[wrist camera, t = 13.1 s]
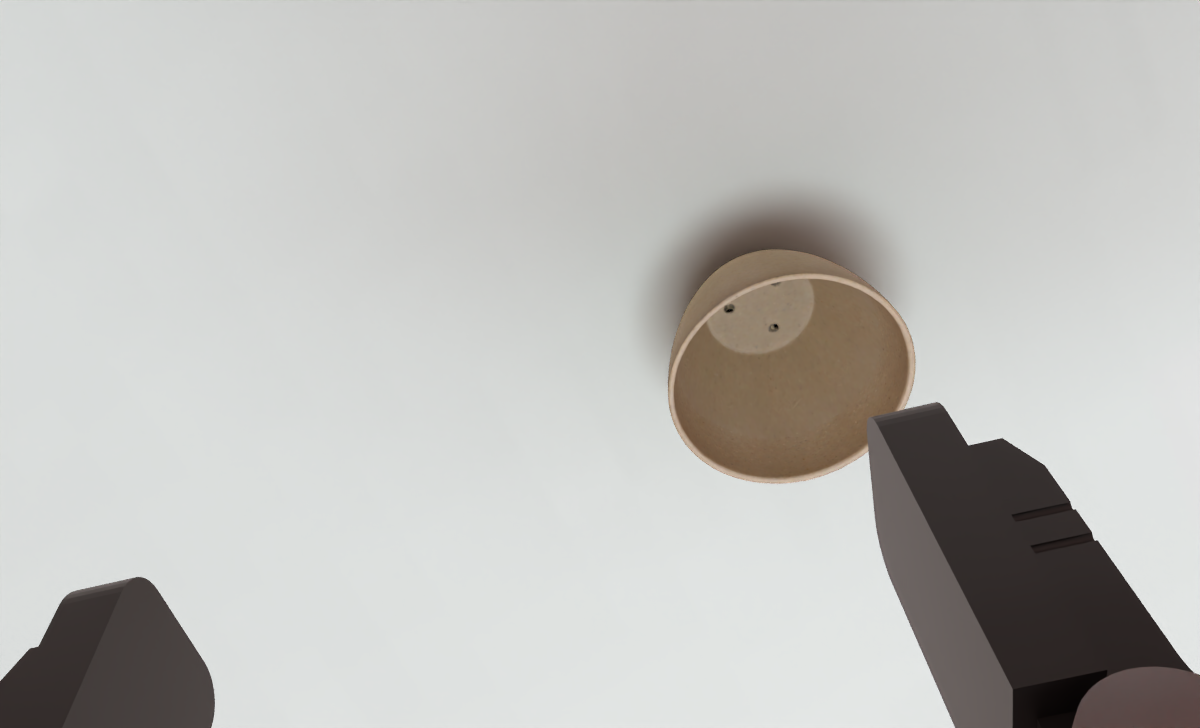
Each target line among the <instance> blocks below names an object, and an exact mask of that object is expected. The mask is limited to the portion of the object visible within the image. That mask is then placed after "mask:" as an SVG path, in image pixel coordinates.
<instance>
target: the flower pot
mask: <svg viewBox="0 0 1200 728" xmlns="http://www.w3.org/2000/svg"><path fill="white" fill-rule="evenodd" d="M728 309H733V311H731V312H726V311H727V310H728ZM774 324H777V325H778V327H774ZM914 375H915V352H914V346H913V342H912V338H911V335H910V333H909V331H908V328H907V326H906V324H905V322H904V321H903V319H902V318H901V316H900V315H899V313H898V312H897V311H896V310H895V309H894V307H893V306H892V305H891V304H890V303H889V302H888V301H887V300H886V299H885V298H884V297H883V296H882V295H881V294H880V293H879V292H878V291H877V290H875V289H874V288H873V287H872V286H871V285H869V284H868V283H867V282H865V281H864V280H863V279H861V278H860V277H858V276H857V275H855V274H854V273H852V272H851V271H849V270H847V269H845V268H844V267H842V266H840V265H838V264H836V263H833V262H831V261H829V260H826V259H824V258H821V257H818V256H815V255H812V254H808V253H804V252H799V251H792V250H780V249H769V250H760V251H755V252H751V253H748V254H744V255H742V256H739V257H737V258H735V259H733V260H731V261H729V262H727V263H726V264H724V265H723V266H721V267H720V268H719V269H717V270H716V271H715V272H714V273H713V274H712V275H711V276H710V277H709V278H708V279H707V280H706V281H705V282H704V283H703V284H702V286H701V287H700V288H699V290H698V291H697V292H696V294H695V295H694V296H693V298H692V300H691V301H690V303H689V305H688V307H687V308H686V310H685V312H684V315H683V317H682V319H681V321H680V324H679V327H678V329H677V332H676V335H675V339H674V343H673V347H672V352H671V358H670V364H669V376H668V397H669V408H670V412H671V416H672V419H673V422H674V425H675V427H676V429H677V431H678V433H679V435H680V436H681V438H682V440H683V441H684V443H685V444H686V445H687V446H688V448H689V449H690V450H691V451H692V452H693V453H694V454H695V455H696V456H697V457H698V458H700V459H701V460H702V461H703V462H705V463H706V464H708V465H709V466H711V467H712V468H714V469H716V470H718V471H720V472H722V473H724V474H727V475H730V476H732V477H735V478H739V479H743V480H747V481H752V482H759V483H792V482H799V481H806V480H810V479H813V478H817V477H820V476H823V475H826V474H829V473H831V472H834V471H836V470H839V469H841V468H843V467H844V466H846V465H848V464H850V463H851V462H853V461H855V460H857V459H858V458H860V457H861V456H863V455H864V454H865V453H867V452H868V451H869V450H868V440H867V420H868V418H869V417H872V416H877V415H881V414H886V413H890V412H895V411H899V410H904V408H905V406H906V404H907V401H908V399H909V396H910V393H911V390H912V386H913V382H914Z"/></svg>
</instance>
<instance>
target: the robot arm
mask: <svg viewBox="0 0 1200 728" xmlns="http://www.w3.org/2000/svg"><path fill="white" fill-rule="evenodd" d="M867 440H868V450H869V460H870V470H871V481H872V491H873V501H874V511H875V521H876V528H877V534H878V539H879V543H880V548H881V551H882V555H883V559H884V562H885V565H886V568H887V571H888V574H889V577H890V579H891V581H892V584H893V586H894V588H895V591H896V593H897V595H898V598H899V600H900V602H901V604H902V607H903V609H904V611H905V614H906V616H907V618H908V620H909V623H910V625H911V627H912V630H913V632H914V634H915V637H916V639H917V641H918V643H919V646H920V648H921V650H922V653H923V655H924V657H925V659H926V662H927V664H928V666H929V669H930V671H931V673H932V675H933V678H934V680H935V682H936V685H937V687H938V689H939V691H940V694H941V696H942V698H943V701H944V703H945V705H946V707H947V710H948V712H949V714H950V717H951V719H952V721H953V723H954V726H955V728H1200V675H1199V674H1196V673H1194V672H1193V671H1192V670H1191V669H1189V667H1188V666H1187V665H1186V664H1185V662H1184V661H1183V660H1182V659H1181V658H1180V656H1179V655H1178V654H1177V652H1176V651H1175V649H1174V648H1173V647H1172V645H1171V644H1170V642H1169V641H1168V639H1167V638H1166V637H1165V635H1164V634H1163V632H1162V631H1161V630H1160V628H1159V627H1158V625H1157V624H1156V622H1155V621H1154V620H1153V618H1152V617H1151V615H1150V614H1149V613H1148V611H1147V610H1146V608H1145V607H1144V605H1143V604H1142V603H1141V601H1140V600H1139V598H1138V597H1137V596H1136V594H1135V593H1134V591H1133V590H1132V588H1131V587H1130V586H1129V584H1128V583H1127V581H1126V580H1125V579H1124V577H1123V576H1122V574H1121V573H1120V571H1119V570H1118V569H1117V567H1116V566H1115V564H1114V563H1113V562H1112V560H1111V559H1110V557H1109V556H1108V554H1107V553H1106V552H1105V550H1104V549H1103V547H1102V546H1101V545H1100V543H1099V542H1098V540H1097V541H1094V539H1093V536H1092V532H1091V530H1090V529H1089V528H1088V526H1087V525H1086V523H1085V522H1084V520H1083V519H1082V518H1081V516H1080V515H1079V513H1078V512H1077V511H1076V509H1075V510H1073V509H1072V507H1071V503H1070V501H1069V499H1068V498H1067V496H1066V495H1065V494H1064V492H1063V491H1062V489H1061V488H1060V486H1059V485H1058V484H1057V482H1056V481H1055V479H1054V478H1053V477H1052V475H1051V474H1050V472H1049V471H1048V469H1047V468H1046V467H1045V465H1043V464H1042V463H1040V462H1039V461H1037V460H1035V459H1034V458H1032V457H1031V456H1029V455H1028V454H1026V453H1024V452H1023V451H1021V450H1020V449H1018V448H1017V447H1015V446H1013V445H1012V444H1010V443H1009V442H1007V441H1006V440H1004V439H1003V438H1001V439H997V440H992V441H988V442H983V443H978V444H974V445H969V446H968V445H967V443H966V441H965V440H964V438H963V437H962V435H961V433H960V432H959V430H958V429H957V427H956V425H955V424H954V422H953V420H952V419H951V417H950V416H949V414H948V412H947V411H946V409H945V408H944V407H943V406H942V405H941V404H940V403H938V402H936V403H931V404H927V405H922V406H917V407H913V408H908V409H904V410H899V411H895V412H890V413H886V414H881V415H877V416H872V417H869V418H868V420H867ZM214 708H215V698H214V689H213V684H212V679H211V676H210V673H209V671H208V668H207V666H206V664H205V663H204V661H203V659H202V658H201V656H200V655H199V653H198V652H197V650H196V649H195V647H194V646H193V644H192V642H191V641H190V639H189V638H188V636H187V635H186V633H185V632H184V630H183V629H182V627H181V625H180V624H179V622H178V621H177V619H176V618H175V616H174V615H173V613H172V612H171V610H170V609H169V607H168V605H167V604H166V602H165V601H164V599H163V598H162V596H161V595H160V593H159V592H158V590H157V589H156V587H155V586H154V585H153V584H152V583H151V582H150V581H149V580H147V579H145V578H142V577H136V578H131V579H127V580H122V581H118V582H113V583H109V584H104V585H100V586H95V587H91V588H86V589H82V590H77V591H74V592H71V593H69V594H68V595H67V596H66V597H65V598H64V599H63V600H62V602H61V603H60V605H59V607H58V609H57V611H56V613H55V615H54V617H53V619H52V621H51V623H50V625H49V627H48V629H47V631H46V633H45V635H44V637H43V639H42V641H41V643H40V645H39V647H35V648H31V649H29V650H28V651H27V652H26V653H25V655H24V656H23V657H22V658H21V659H20V660H19V661H18V662H17V663H16V665H15V666H14V667H13V668H12V669H11V670H10V671H9V672H8V673H7V674H6V676H5V677H4V678H3V679H2V680H1V681H0V728H211V726H212V722H213V718H214Z"/></svg>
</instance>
